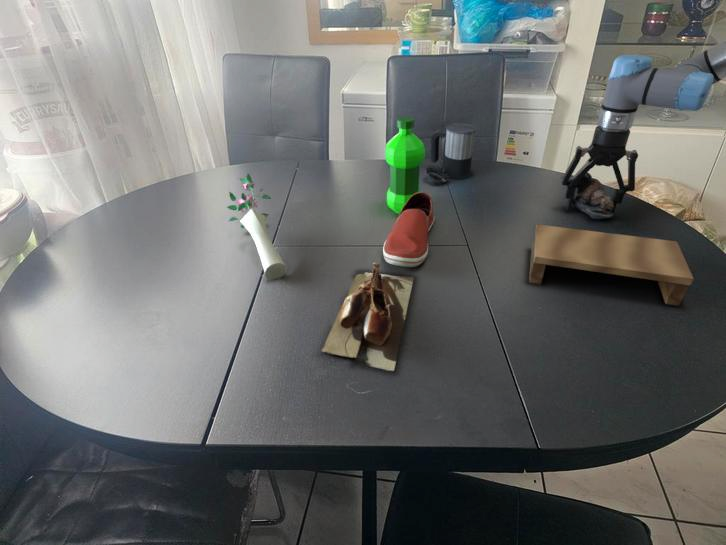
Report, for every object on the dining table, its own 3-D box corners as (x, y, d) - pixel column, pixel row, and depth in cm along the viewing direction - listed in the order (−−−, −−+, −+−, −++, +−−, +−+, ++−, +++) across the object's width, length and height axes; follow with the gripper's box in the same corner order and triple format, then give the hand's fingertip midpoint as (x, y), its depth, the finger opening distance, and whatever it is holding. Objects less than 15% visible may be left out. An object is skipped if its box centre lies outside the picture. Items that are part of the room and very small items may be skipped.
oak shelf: (665, 268, 98) (677, 241, 94) (679, 307, 87) (693, 278, 83) (530, 250, 105) (536, 224, 101) (528, 284, 95) (535, 256, 91)
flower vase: (265, 304, 104) (230, 214, 125) (312, 280, 105) (269, 194, 126) (243, 275, 94) (209, 183, 115) (295, 249, 95) (252, 162, 117)
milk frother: (472, 168, 147) (477, 123, 138) (470, 188, 134) (475, 140, 126) (428, 166, 150) (431, 121, 141) (423, 185, 137) (425, 138, 129)
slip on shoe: (372, 273, 100) (371, 239, 94) (402, 214, 122) (403, 184, 117) (419, 281, 97) (421, 246, 92) (441, 219, 119) (444, 188, 114)
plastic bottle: (417, 221, 119) (421, 126, 104) (380, 215, 122) (378, 123, 108) (426, 205, 126) (431, 115, 112) (391, 200, 130) (391, 112, 115)
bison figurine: (616, 219, 116) (628, 183, 110) (597, 226, 114) (608, 189, 108) (579, 202, 125) (589, 167, 119) (561, 207, 122) (569, 173, 117)
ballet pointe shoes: (314, 335, 75) (351, 247, 97) (318, 363, 78) (353, 272, 101) (395, 343, 72) (414, 251, 94) (395, 371, 76) (414, 276, 98)
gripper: (563, 129, 106) (544, 212, 119) (670, 135, 100) (638, 223, 113) (562, 120, 112) (545, 200, 125) (663, 125, 106) (633, 210, 119)
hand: (589, 211), depth 119 cm, fingers closed on bison figurine, 10 cm apart
